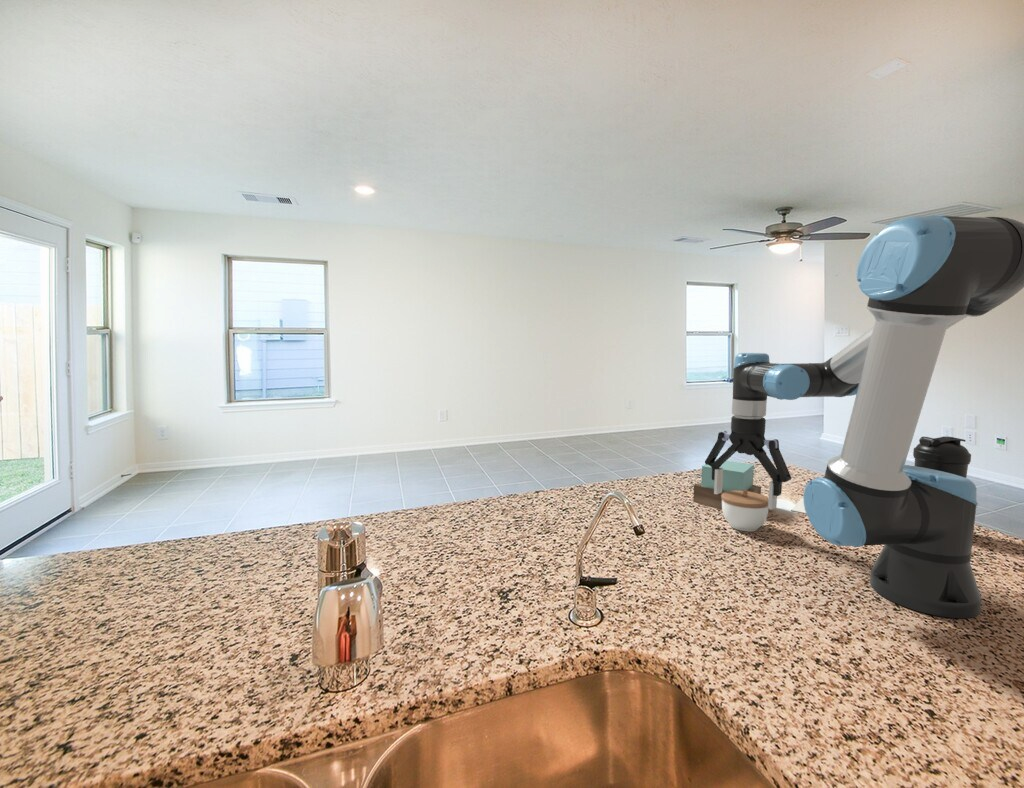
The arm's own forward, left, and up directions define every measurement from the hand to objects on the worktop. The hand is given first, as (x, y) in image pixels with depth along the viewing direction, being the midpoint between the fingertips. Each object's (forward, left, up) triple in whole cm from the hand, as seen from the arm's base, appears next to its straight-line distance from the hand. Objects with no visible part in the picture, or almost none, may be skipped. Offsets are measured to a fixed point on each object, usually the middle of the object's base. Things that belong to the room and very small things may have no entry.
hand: (743, 500), depth 118 cm
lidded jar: (0, 0, -7) cm, 7 cm away
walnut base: (+14, +12, -7) cm, 19 cm away
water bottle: (+33, -30, -7) cm, 45 cm away
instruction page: (+29, -6, -7) cm, 30 cm away
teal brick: (+14, +12, -2) cm, 18 cm away
